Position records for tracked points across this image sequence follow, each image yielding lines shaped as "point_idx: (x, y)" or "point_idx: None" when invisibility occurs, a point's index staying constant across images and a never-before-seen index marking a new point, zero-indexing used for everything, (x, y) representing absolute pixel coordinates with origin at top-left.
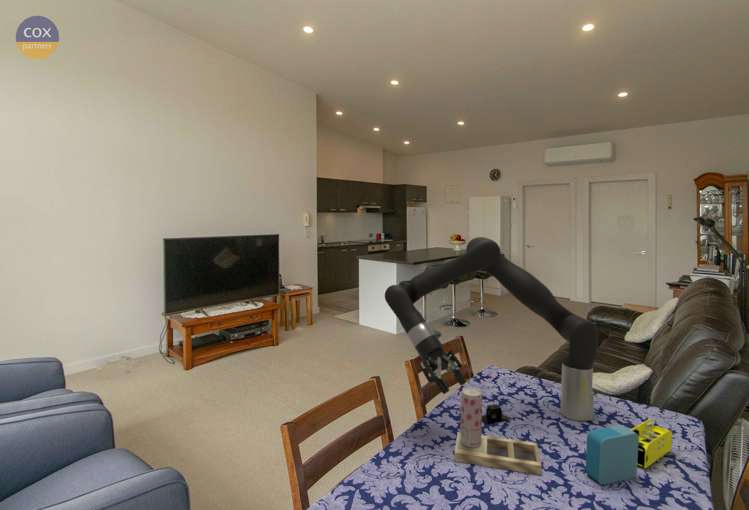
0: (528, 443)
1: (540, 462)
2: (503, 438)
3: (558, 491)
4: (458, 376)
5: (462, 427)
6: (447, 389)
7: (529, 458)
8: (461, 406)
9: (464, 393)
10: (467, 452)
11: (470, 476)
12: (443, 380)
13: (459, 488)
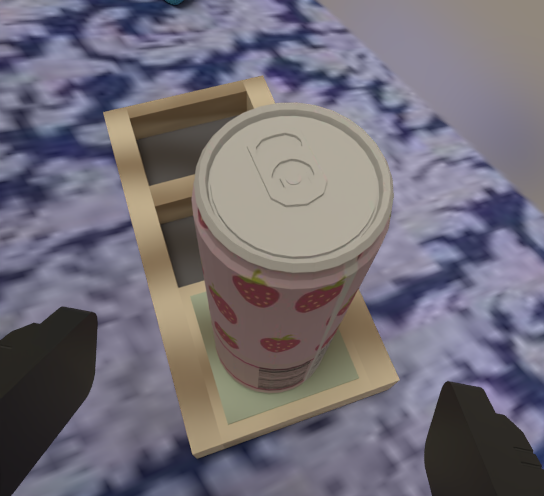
0: (124, 135)
1: (242, 81)
2: (135, 226)
3: (314, 55)
4: (40, 405)
5: (329, 343)
6: (482, 389)
7: (185, 143)
8: (336, 313)
9: (384, 217)
10: (358, 324)
11: (436, 289)
12: (490, 472)
13: (532, 298)
